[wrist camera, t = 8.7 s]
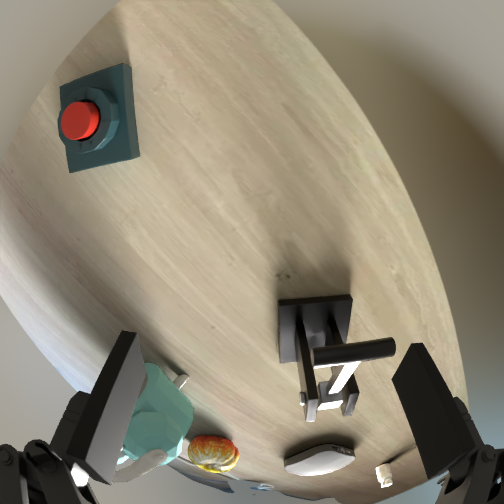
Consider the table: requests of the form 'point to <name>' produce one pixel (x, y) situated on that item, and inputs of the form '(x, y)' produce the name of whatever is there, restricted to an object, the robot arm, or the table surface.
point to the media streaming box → (319, 460)
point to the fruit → (213, 453)
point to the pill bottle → (384, 475)
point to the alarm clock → (155, 424)
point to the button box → (102, 118)
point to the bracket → (315, 343)
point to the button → (80, 120)
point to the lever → (346, 365)
